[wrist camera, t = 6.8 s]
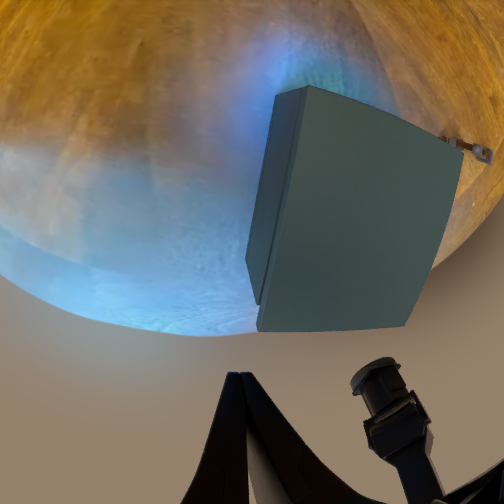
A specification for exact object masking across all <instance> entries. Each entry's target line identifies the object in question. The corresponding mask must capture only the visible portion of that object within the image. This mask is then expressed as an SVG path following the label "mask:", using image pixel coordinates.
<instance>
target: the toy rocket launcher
mask: <svg viewBox="0 0 504 504" xmlns="http://www.w3.org/2000/svg"><path fill="white" fill-rule="evenodd" d="M443 141H445V142H446V143H448V144H450V145H452V146H453V147H455V148H457V149H458V150H461V151H463V150H464V149H467V150H470V151H472V153H474V154H475V156H478V161H480V162H483V163H486V164H488V165H492V158H493V151H494V150H492V149H489V148H487V147H484V146H482V145H479V144H476V143H473V145H472V144H468V143H465V142H463V140H460V139H457V138H454V137H453V138H451V137H450V138H449V137H445V136H443Z"/></svg>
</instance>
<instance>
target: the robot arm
mask: <svg viewBox="0 0 504 504" xmlns="http://www.w3.org/2000/svg"><path fill="white" fill-rule="evenodd" d="M400 367H401V365H400V364H395V365H390V366H385V367H379V368H373V369H370V370H369V371H368V372H367V373H366V375H365V376H364V378H363V379H362V380H361V382H360V383H359V385H358V386H357V387H356V389H355V390H354V391H353V393H352V394H353V396H357V395H362V397H363V399H364V401H365V404H366V406H367V408H368V410H369V412H370V414H371V416H372V417H371V418H369V419H368V420H365V421H363V423H364V425H363V426H364V429H365V432H366V436H367V439H368V447H369V449H371V450H373V451H374V452H375V453H376V454H377V455H378V456H379V457H380V458H381V459H383V460H384V461H386V462H387V463H389V464H391V465H392V466H394V467H396V469H397V471H398V474H399V477H400V480H401V483H402V486H403V489H404V492H405V495H406V498H407V501H408V504H504V458H503V459H502V460H501V461H499V462H498V463H496V464H495V465H494V466H492V467H491V468H489V469H488V470H486V471H485V472H483V473H482V474H480V475H479V476H477V477H476V478H474V479H472V480H471V481H469V482H467V483H466V484H464V485H462V486H461V487H459V488H457V489H455V490H453V491H452V492H450V493H448V494H447V495H446V494H445V491H444V489H443V486H442V484H441V481H440V479H439V476H438V474H437V472H436V469H435V467H434V465H433V463H432V460H431V458H430V453H431V449H432V444H433V438H434V437H433V434H432V432H431V430H430V428H429V426H428V424H430V423H431V422H432V421H431V419H430V418H429V416H428V414H427V412H426V410H425V408H424V406H423V404H422V403H421V401H420V399H419V398H418V396H417V394H416V393H415V392H414V390H411V391H410V393H409V392H408V390H407V389H406V387H405V386H406V384H405V382H404V381H403V379H402V377H401V375H400V374H399V372H398V370H399V369H400ZM415 402H416V404H415ZM248 471H249V475H250V479H251V483H252V487H253V491H254V495H255V499H256V503H257V504H386V503H383V502H379V501H376V500H373V499H370V498H367V497H365V496H363V495H360V494H359V493H357V492H356V491H355V490H353V489H352V488H351V487H349V486H348V485H347V484H346V483H345V482H344V481H342V480H341V479H340V478H339V477H338V476H336V475H335V474H334V473H333V472H332V471H331V470H330V469H329V468H328V467H327V466H325V465H324V464H323V463H322V462H321V461H320V460H319V458H318V457H317V456H316V455H315V454H314V453H313V452H312V450H311V449H310V448H309V447H308V446H307V445H305V442H304V441H303V440H302V438H301V437H300V436H299V435H298V433H297V432H296V431H295V430H294V428H293V427H292V426H291V425H290V423H289V422H288V421H287V419H286V418H285V417H284V416H283V414H282V413H281V412H280V410H279V409H278V408H277V407H276V405H275V404H274V402H273V401H272V400H271V398H270V397H269V396H268V395H267V393H266V392H265V390H264V389H263V387H262V386H261V385H260V383H259V382H258V381H257V379H256V378H255V376H254V375H253V374H252V373H251V372H240V373H239V372H228V373H227V376H226V379H225V383H224V386H223V389H222V392H221V396H220V399H219V402H218V405H217V409H216V412H215V415H214V419H213V422H212V425H211V428H210V432H209V435H208V438H207V441H206V445H205V448H204V452H203V454H202V457H201V460H200V463H199V466H198V468H197V472H196V474H195V476H194V478H193V480H192V482H191V485H190V487H189V488H188V491H187V492H186V494H185V496H184V498H183V500H182V502H181V503H180V504H249V485H248Z"/></svg>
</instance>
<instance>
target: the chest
mask: <svg viewBox="0 0 504 504" xmlns="http://www.w3.org/2000/svg"><path fill="white" fill-rule="evenodd" d="M302 89H303V88H299V89H296V90H292V91H289V92H286V93H283V94H280V95H276V96H275V101H274V107H273V112H272V117H271V122H270V128H269V133H268V138H267V144H266V149H265V154H264V160H263V165H262V170H261V176H260V181H259V186H258V192H257V197H256V203H255V208H254V214H253V219H252V224H251V230H250V235H249V241H248V246H247V252H246V257H245V260H246V264H247V268H248V272H249V277H250V281H251V285H252V289H253V293H254V297H255V301H256V305H260V303H261V299H262V294H263V289H264V285H265V280H266V275H267V271H268V266H269V261H270V256H271V252H272V247H273V242H274V237H275V232H276V227H277V222H278V217H279V212H280V207H281V202H282V197H283V192H284V187H285V182H286V177H287V171H288V166H289V161H290V156H291V150H292V145H293V140H294V134H295V129H296V123H297V118H298V112H299V106H300V101H301V95H302Z"/></svg>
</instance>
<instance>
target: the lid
mask: <svg viewBox="0 0 504 504" xmlns="http://www.w3.org/2000/svg"><path fill="white" fill-rule="evenodd" d="M463 156H464V153H463V152H461V151H460V150H458V149H457V148H455V147H453V146H452V145H450V144H448V143H446V142H445V141H443V140H441V139H439V138H438V137H436V136H434V135H432V134H430V133H428V132H427V131H425V130H423V129H421V128H419V127H417V126H415V125H413V124H411V123H409V122H407V121H404V120H402V119H400V118H398V117H396V116H393V115H391V114H389V113H387V112H384V111H382V110H380V109H377V108H375V107H372V106H370V105H367V104H364V103H362V102H359V101H356V100H354V99H351V98H348V97H345V96H342V95H339V94H336V93H333V92H330V91H327V90H324V89H320V88H317V87H313V86H310V85H308V86H305V87H303V89H302V95H301V101H300V106H299V112H298V118H297V123H296V129H295V134H294V140H293V145H292V150H291V156H290V161H289V166H288V171H287V177H286V182H285V187H284V192H283V197H282V202H281V207H280V212H279V217H278V222H277V227H276V232H275V237H274V242H273V247H272V252H271V256H270V261H269V266H268V271H267V275H266V280H265V285H264V289H263V294H262V299H261V303H260V308H259V312H258V317H257V321H256V326H257V330H258V332H323V331H347V330H364V329H377V328H389V327H400V326H405V324H406V322H407V320H408V318H409V316H410V314H411V312H412V310H413V308H414V306H415V304H416V302H417V300H418V297H419V295H420V293H421V291H422V289H423V286H424V284H425V282H426V279H427V277H428V274H429V272H430V270H431V267H432V265H433V262H434V259H435V257H436V254H437V251H438V249H439V246H440V243H441V240H442V237H443V234H444V231H445V228H446V225H447V222H448V218H449V215H450V212H451V208H452V204H453V201H454V197H455V193H456V189H457V185H458V180H459V176H460V171H461V166H462V161H463Z"/></svg>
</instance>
